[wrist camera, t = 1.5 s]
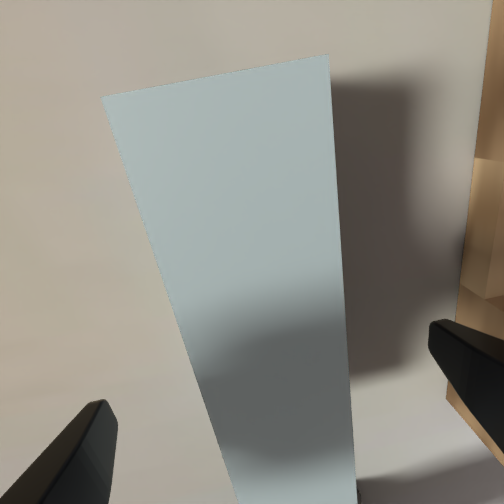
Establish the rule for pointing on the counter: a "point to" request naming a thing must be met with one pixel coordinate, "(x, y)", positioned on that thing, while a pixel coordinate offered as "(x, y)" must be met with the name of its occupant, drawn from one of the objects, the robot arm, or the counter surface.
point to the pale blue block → (252, 265)
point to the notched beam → (485, 218)
